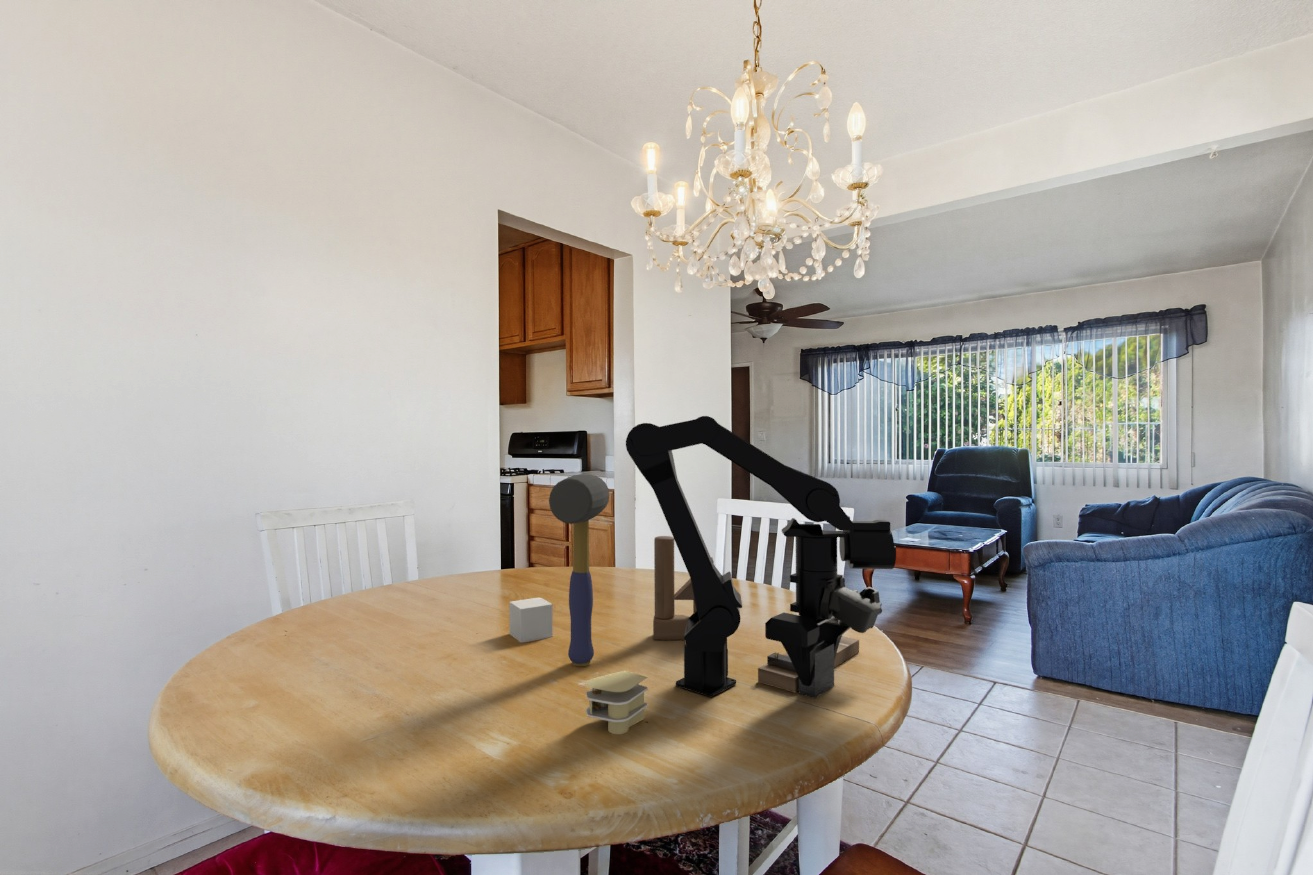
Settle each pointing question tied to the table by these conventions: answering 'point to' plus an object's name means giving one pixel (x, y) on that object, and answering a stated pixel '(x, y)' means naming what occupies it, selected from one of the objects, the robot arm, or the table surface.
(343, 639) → the table surface
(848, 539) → the robot arm
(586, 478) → the rubber mallet
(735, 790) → the table surface
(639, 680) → the toy house
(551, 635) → the grey cube
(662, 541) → the brown post on base
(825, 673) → the marking gauge
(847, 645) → the walnut board
